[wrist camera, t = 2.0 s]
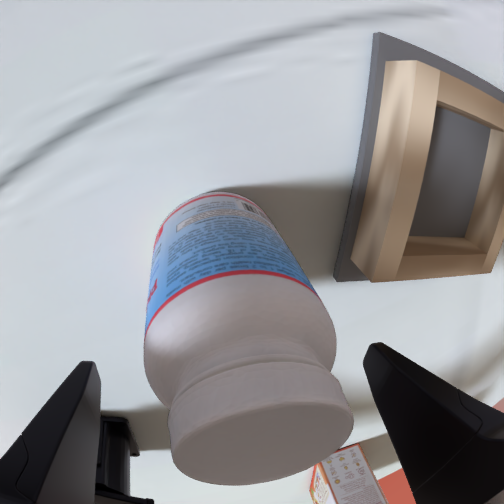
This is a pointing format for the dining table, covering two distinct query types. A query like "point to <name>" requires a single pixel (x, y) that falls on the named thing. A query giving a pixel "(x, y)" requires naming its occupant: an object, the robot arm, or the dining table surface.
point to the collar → (411, 176)
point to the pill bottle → (239, 347)
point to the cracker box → (346, 479)
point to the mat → (438, 161)
